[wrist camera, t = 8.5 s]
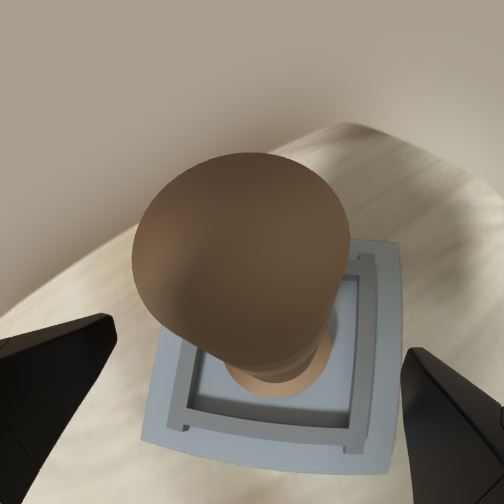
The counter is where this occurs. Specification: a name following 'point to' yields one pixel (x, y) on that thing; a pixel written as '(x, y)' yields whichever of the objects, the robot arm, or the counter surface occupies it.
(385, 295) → the base plate
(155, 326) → the counter surface
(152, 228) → the flanged spindle
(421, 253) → the counter surface
